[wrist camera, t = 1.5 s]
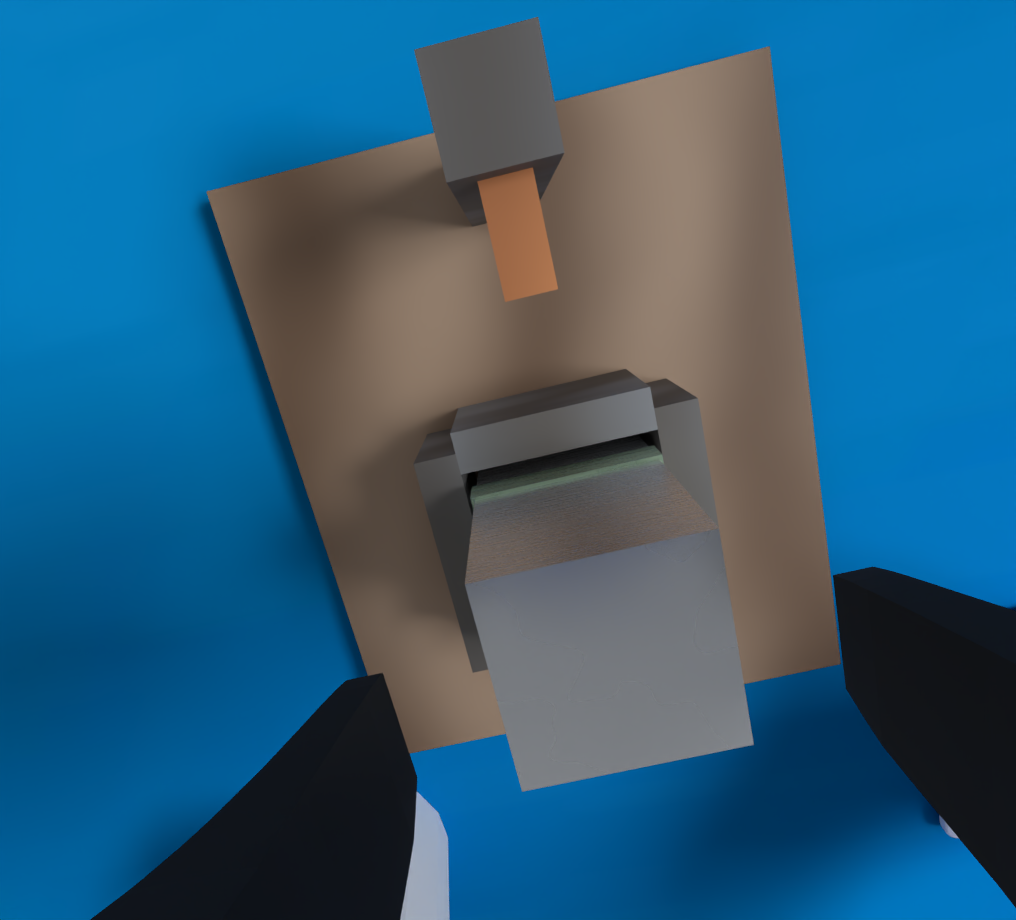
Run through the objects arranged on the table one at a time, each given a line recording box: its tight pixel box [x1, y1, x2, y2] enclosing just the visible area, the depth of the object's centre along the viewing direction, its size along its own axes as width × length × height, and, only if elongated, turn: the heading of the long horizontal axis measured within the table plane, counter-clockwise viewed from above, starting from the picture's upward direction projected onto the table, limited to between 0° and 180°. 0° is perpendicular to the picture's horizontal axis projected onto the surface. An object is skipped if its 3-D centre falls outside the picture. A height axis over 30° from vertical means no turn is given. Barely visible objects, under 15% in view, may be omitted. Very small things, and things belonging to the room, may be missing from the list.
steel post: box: [465, 434, 754, 792], centre depth 15 cm, size 4×4×8 cm
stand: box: [207, 17, 841, 753], centre depth 15 cm, size 14×17×9 cm
